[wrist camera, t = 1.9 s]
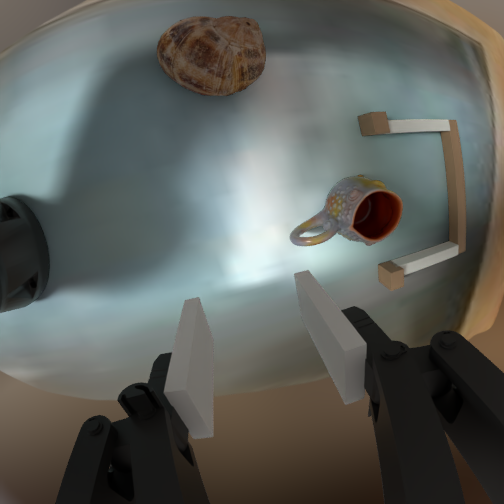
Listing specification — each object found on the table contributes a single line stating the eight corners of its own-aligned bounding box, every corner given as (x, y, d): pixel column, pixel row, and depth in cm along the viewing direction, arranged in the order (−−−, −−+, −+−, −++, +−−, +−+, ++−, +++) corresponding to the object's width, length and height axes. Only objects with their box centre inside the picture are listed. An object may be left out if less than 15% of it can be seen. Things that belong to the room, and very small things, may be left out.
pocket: (378, 281, 34) (391, 290, 31) (357, 116, 27) (370, 112, 24) (456, 252, 34) (470, 259, 31) (445, 115, 28) (460, 113, 25)
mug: (367, 168, 29) (399, 170, 23) (380, 223, 32) (411, 236, 25) (272, 199, 29) (286, 208, 23) (291, 257, 32) (308, 279, 25)
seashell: (245, 8, 22) (270, 2, 15) (257, 74, 29) (283, 94, 22) (153, 29, 21) (140, 30, 15) (171, 94, 28) (168, 121, 22)
